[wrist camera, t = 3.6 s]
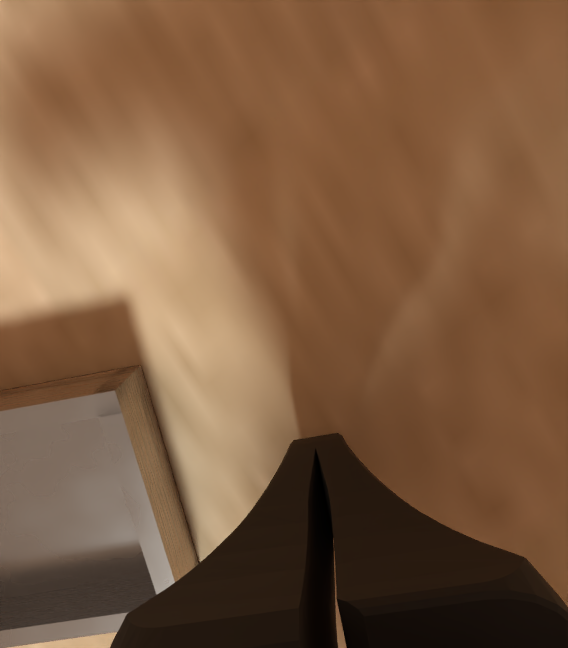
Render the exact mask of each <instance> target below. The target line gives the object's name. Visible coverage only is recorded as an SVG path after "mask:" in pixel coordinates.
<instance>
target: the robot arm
mask: <svg viewBox="0 0 568 648" xmlns="http://www.w3.org/2000/svg"><path fill="white" fill-rule="evenodd" d="M333 538H334V547H333ZM334 551H335V565H336V586H337V602H338V607H339V612H340V617H341V622H342V626H343V631H344V636H345V641H346V646H347V648H568V607H567V606H566V605H565V603H564V602H563V600H562V599H561V598H560V597H559V595H558V594H557V593H556V592H555V591H554V590H553V588H552V587H551V586H550V585H549V584H548V583H547V582H546V580H545V579H544V578H543V577H542V576H541V575H540V574H539V573H538V571H537V570H536V569H535V568H534V567H533V566H532V565H531V564H530V563H529V561H528V560H527V559H526V558H524V557H522V556H519V555H517V554H514V553H511V552H508V551H505V550H502V549H499V548H497V547H494V546H491V545H488V544H485V543H482V542H480V541H477V540H475V539H472V538H470V537H468V536H466V535H464V534H461V533H459V532H457V531H455V530H452V529H450V528H448V527H446V526H444V525H442V524H440V523H439V522H437V521H435V520H433V519H432V518H430V517H428V516H426V515H425V514H423V513H421V512H419V511H418V510H416V509H415V508H413V507H412V506H410V505H409V504H408V503H406V502H405V501H404V500H402V499H401V498H399V497H398V496H397V495H396V494H394V493H393V492H392V491H391V490H390V489H388V488H387V487H386V486H385V485H384V484H383V483H382V482H381V481H379V480H378V479H377V478H376V477H375V476H374V475H373V474H372V473H371V472H370V471H369V470H368V469H367V468H366V467H365V466H364V464H363V463H362V462H361V461H360V460H359V459H358V458H357V457H356V455H355V454H354V453H353V452H352V450H351V449H350V448H349V446H348V445H347V443H346V442H345V440H344V438H343V436H341V435H340V434H339V433H335V434H329V435H323V436H317V437H311V438H305V439H299V440H293V442H292V443H291V444H290V446H289V448H288V451H287V453H286V455H285V457H284V459H283V461H282V463H281V465H280V466H279V468H278V470H277V472H276V474H275V475H274V477H273V479H272V480H271V482H270V484H269V485H268V487H267V489H266V490H265V491H264V493H263V494H262V496H261V497H260V499H259V500H258V502H257V503H256V505H255V506H254V507H253V509H252V510H251V511H250V513H249V514H248V515H247V517H246V518H245V519H244V520H243V521H242V522H241V524H240V525H239V526H238V527H237V528H236V529H235V530H234V531H233V532H232V533H231V534H230V535H229V536H228V537H227V538H226V539H225V540H224V541H223V542H222V543H221V544H220V545H219V546H218V547H217V548H216V549H215V550H214V551H213V552H212V553H211V554H210V555H209V556H207V557H206V558H205V559H204V560H203V561H201V562H200V563H199V564H198V565H197V566H195V567H194V568H193V569H192V570H191V571H189V572H188V573H187V574H185V575H184V576H183V577H181V578H180V579H179V580H178V581H176V582H175V583H173V584H172V585H171V586H169V587H168V588H166V589H165V590H163V591H162V592H160V593H159V594H157V595H156V596H154V597H153V598H151V599H150V600H148V601H147V602H145V603H144V604H142V605H140V606H139V607H137V608H136V609H134V610H133V611H131V612H129V613H128V614H126V616H125V619H124V621H123V623H122V624H121V626H120V628H119V630H118V632H117V634H116V636H115V638H114V640H113V642H112V645H111V647H110V648H338V643H337V631H336V612H335V578H334Z"/></svg>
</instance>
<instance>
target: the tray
mask: <svg viewBox="0 0 568 648" xmlns="http://www.w3.org/2000/svg"><path fill="white" fill-rule="evenodd" d="M198 564H199V563H198V559H197V556H196V552H195V549H194V546H193V542H192V539H191V535H190V532H189V529H188V525H187V522H186V518H185V515H184V511H183V508H182V505H181V501H180V498H179V494H178V491H177V488H176V484H175V481H174V477H173V474H172V471H171V467H170V464H169V460H168V457H167V453H166V450H165V447H164V443H163V440H162V436H161V433H160V430H159V426H158V423H157V419H156V416H155V413H154V409H153V406H152V402H151V399H150V396H149V392H148V389H147V385H146V382H145V378H144V375H143V372H142V368H141V365H138V366H133V367H127V368H122V369H116V370H111V371H105V372H100V373H95V374H89V375H84V376H78V377H73V378H67V379H62V380H57V381H51V382H46V383H40V384H35V385H29V386H24V387H18V388H13V389H8V390H2V391H0V648H7V647H14V646H21V645H28V644H35V643H42V642H49V641H56V640H63V639H70V638H77V637H85V636H92V635H99V634H106V633H113V632H118V630H119V628H120V626H121V624H122V623H123V621H124V619H125V616H126V614H128V613H129V612H131V611H133V610H134V609H136V608H137V607H139V606H140V605H142V604H144V603H145V602H147V601H148V600H150V599H151V598H153V597H154V596H156V595H157V594H159V593H160V592H162V591H163V590H165V589H166V588H168V587H169V586H171V585H172V584H173V583H175V582H176V581H178V580H179V579H180V578H181V577H183V576H184V575H185V574H187V573H188V572H189V571H191V570H192V569H193V568H194V567H195V566H197V565H198Z"/></svg>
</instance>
